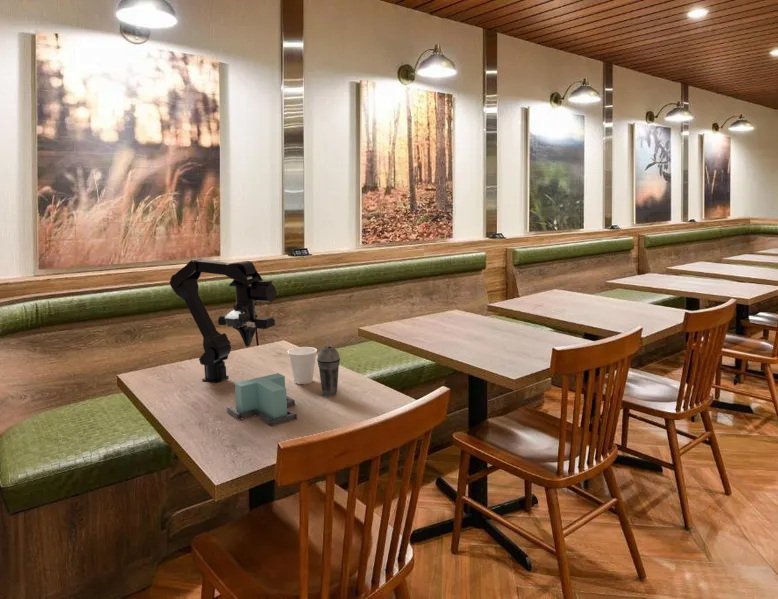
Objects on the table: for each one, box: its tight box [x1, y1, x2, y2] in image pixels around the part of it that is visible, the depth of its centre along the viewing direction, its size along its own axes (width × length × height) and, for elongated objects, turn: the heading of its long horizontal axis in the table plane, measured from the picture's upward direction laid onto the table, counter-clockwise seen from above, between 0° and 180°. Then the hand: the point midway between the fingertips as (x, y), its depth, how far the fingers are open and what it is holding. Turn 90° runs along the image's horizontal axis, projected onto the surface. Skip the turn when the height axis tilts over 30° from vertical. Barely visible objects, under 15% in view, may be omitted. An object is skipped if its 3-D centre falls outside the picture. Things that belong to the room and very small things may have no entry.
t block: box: [234, 372, 288, 419], centre depth 168 cm, size 14×14×9 cm
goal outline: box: [226, 395, 298, 427], centre depth 169 cm, size 18×18×2 cm
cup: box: [287, 346, 318, 385], centre depth 195 cm, size 10×10×11 cm
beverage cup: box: [316, 333, 341, 398], centre depth 182 cm, size 7×7×20 cm
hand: (247, 346), depth 192 cm, fingers closed
